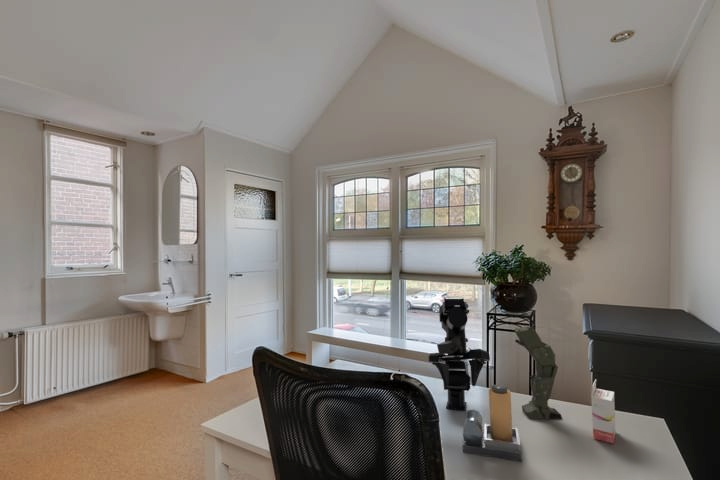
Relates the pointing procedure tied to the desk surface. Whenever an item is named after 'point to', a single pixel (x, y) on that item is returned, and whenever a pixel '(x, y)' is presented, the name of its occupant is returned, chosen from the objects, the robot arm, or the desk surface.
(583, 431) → the desk surface
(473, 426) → the motor mount
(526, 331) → the mechanical leg
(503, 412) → the bottle
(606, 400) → the ink cartridge box
